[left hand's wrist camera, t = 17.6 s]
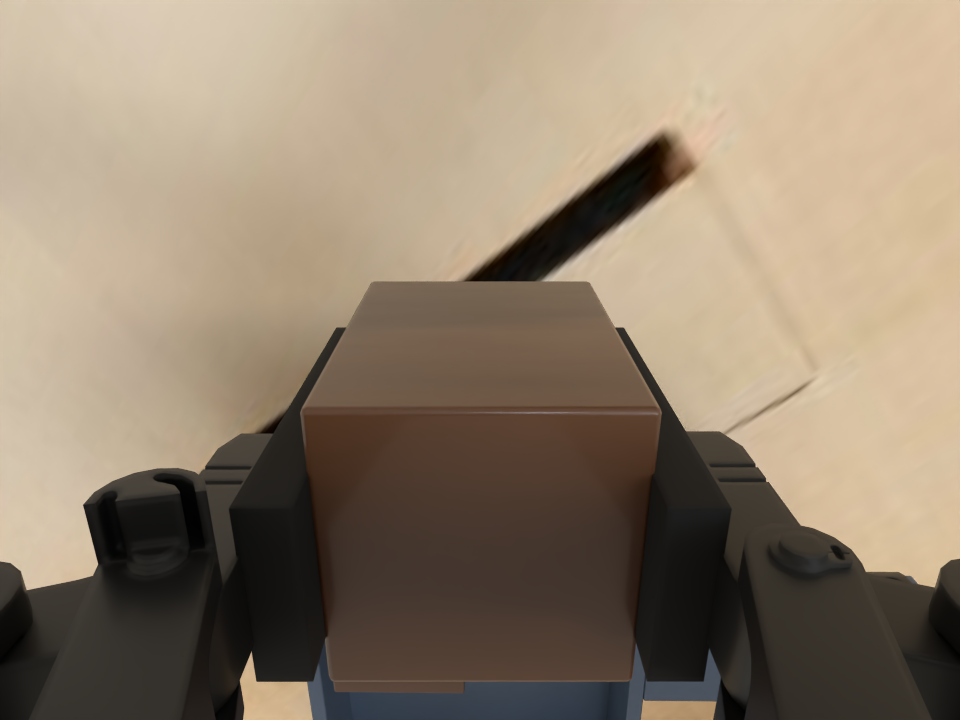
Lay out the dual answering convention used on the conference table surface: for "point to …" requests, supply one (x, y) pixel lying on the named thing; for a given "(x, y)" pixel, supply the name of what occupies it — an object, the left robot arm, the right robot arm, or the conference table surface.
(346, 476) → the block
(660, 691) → the tray
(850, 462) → the conference table surface
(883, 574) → the right robot arm
